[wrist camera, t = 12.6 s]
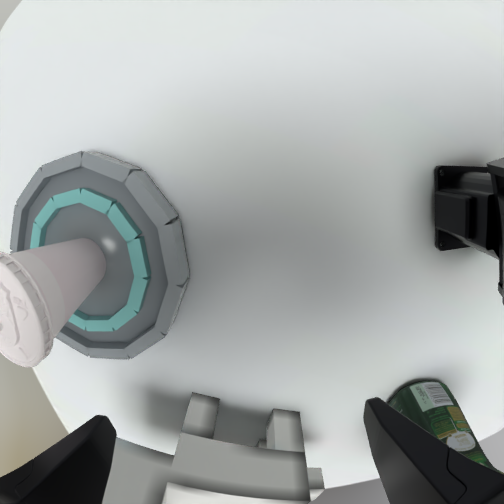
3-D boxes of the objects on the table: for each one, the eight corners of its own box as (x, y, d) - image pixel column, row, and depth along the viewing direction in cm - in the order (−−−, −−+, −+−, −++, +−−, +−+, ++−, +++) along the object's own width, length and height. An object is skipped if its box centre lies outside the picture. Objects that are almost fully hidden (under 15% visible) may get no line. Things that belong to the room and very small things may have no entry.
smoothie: (48, 271, 20) (-74, 352, 7) (69, 204, 19) (-88, 255, 5) (106, 315, 21) (0, 436, 7) (135, 248, 19) (-11, 360, 6)
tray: (168, 133, 18) (159, 129, 16) (204, 345, 22) (200, 359, 20) (13, 182, 19) (-2, 184, 17) (54, 343, 23) (44, 353, 21)
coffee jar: (413, 436, 26) (462, 553, 8) (359, 440, 26) (397, 581, 8) (455, 375, 23) (539, 497, 5) (399, 375, 23) (483, 537, 5)
